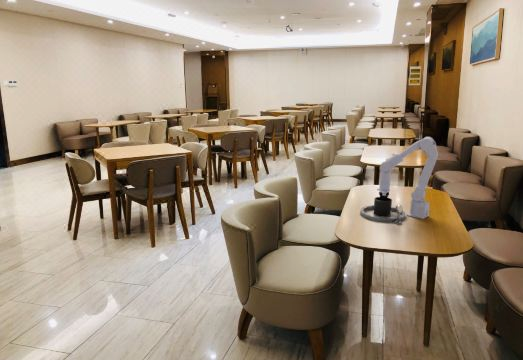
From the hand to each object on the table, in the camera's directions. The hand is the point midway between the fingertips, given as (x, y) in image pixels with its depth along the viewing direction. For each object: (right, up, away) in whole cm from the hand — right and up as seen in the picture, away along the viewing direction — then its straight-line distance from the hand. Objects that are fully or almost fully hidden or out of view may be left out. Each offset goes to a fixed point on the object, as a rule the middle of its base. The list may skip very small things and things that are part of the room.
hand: (383, 204), depth 238 cm
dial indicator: (+1, -9, -22) cm, 23 cm away
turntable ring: (-3, -5, -8) cm, 10 cm away
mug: (-2, -5, -6) cm, 8 cm away
